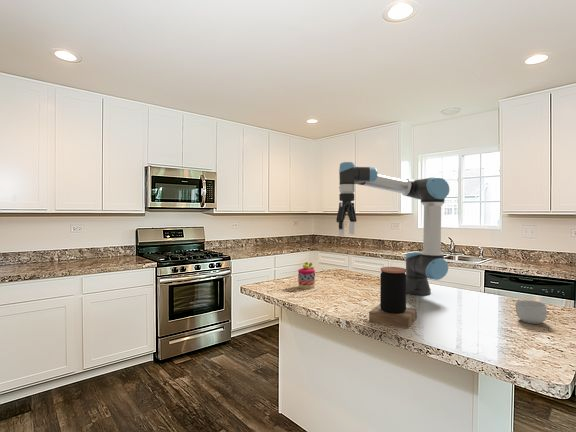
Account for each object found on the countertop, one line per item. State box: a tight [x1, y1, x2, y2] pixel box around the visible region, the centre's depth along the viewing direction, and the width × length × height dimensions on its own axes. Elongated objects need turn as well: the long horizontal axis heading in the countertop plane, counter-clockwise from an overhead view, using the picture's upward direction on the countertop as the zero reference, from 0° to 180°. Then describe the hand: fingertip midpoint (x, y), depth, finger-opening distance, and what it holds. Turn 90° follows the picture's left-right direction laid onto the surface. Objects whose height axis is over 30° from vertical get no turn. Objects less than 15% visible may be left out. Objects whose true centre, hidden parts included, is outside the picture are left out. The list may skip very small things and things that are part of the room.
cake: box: [297, 261, 316, 290], centre depth 205 cm, size 10×11×15 cm
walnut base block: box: [368, 303, 418, 329], centre depth 144 cm, size 16×16×4 cm
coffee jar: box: [379, 266, 407, 314], centre depth 144 cm, size 11×11×18 cm
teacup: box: [514, 299, 548, 325], centre depth 143 cm, size 14×11×8 cm
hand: (346, 235), depth 169 cm, fingers open, 13 cm apart
